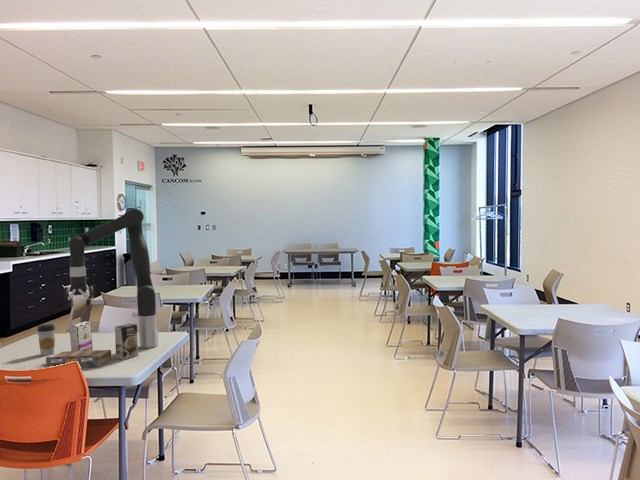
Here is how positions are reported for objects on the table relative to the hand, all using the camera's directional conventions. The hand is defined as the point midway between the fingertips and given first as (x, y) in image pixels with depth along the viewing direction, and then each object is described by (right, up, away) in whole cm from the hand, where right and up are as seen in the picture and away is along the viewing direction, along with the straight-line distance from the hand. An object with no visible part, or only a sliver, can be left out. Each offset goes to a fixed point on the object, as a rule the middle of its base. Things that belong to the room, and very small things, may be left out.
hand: (79, 306), depth 275 cm
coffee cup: (-19, -26, +6) cm, 33 cm away
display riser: (+7, -26, -15) cm, 30 cm away
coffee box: (+27, -25, -6) cm, 37 cm away
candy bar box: (+1, -25, +1) cm, 25 cm away
